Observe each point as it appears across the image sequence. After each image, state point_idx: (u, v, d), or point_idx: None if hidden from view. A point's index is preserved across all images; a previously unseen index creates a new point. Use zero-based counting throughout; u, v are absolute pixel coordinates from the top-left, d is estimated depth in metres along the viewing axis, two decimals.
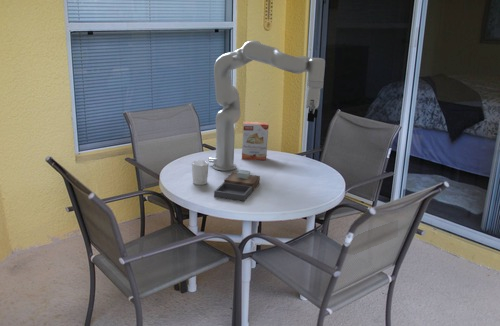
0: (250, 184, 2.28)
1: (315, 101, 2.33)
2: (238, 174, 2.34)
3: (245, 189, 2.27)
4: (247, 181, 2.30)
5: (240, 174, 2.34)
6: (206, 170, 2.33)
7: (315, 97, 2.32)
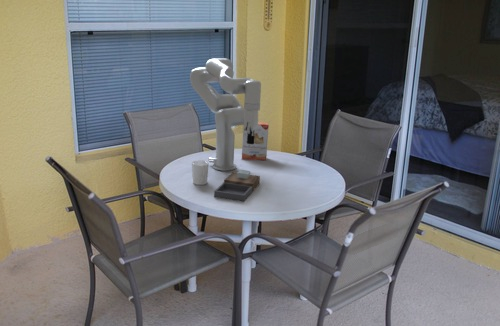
0: (250, 184, 2.28)
1: (251, 123, 2.32)
2: (238, 174, 2.34)
3: (245, 189, 2.27)
4: (247, 181, 2.30)
5: (240, 174, 2.34)
6: (206, 170, 2.33)
7: (251, 119, 2.32)
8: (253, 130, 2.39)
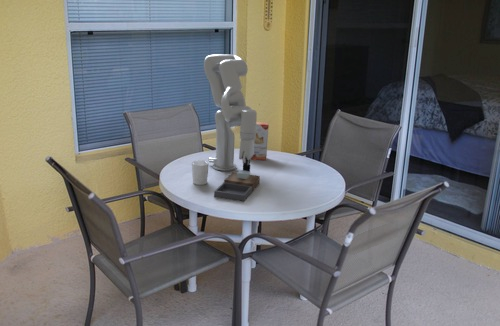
0: (250, 184, 2.28)
1: (247, 153, 2.31)
2: (238, 174, 2.34)
3: (245, 189, 2.27)
4: (247, 181, 2.30)
5: (240, 174, 2.33)
6: (206, 170, 2.33)
7: (247, 148, 2.31)
8: (249, 159, 2.38)
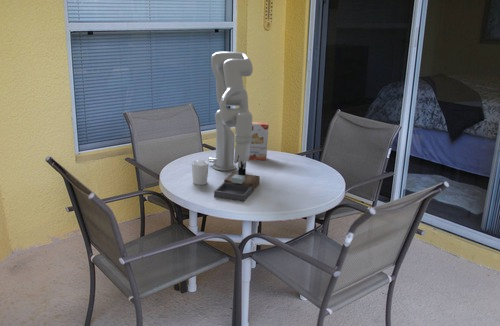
0: (250, 184, 2.28)
1: (242, 157, 2.25)
2: (232, 179, 2.27)
3: (245, 189, 2.27)
4: (247, 181, 2.30)
5: (235, 179, 2.27)
6: (206, 170, 2.33)
7: (243, 152, 2.24)
8: (244, 163, 2.31)
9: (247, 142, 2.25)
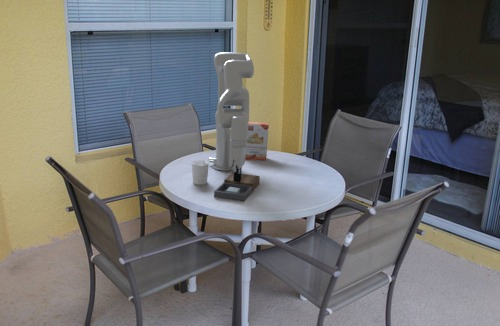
0: (250, 184, 2.28)
1: (238, 161, 2.19)
2: None
3: (245, 189, 2.27)
4: (247, 181, 2.30)
5: None
6: (206, 170, 2.33)
7: (238, 157, 2.19)
8: None
9: (243, 146, 2.19)
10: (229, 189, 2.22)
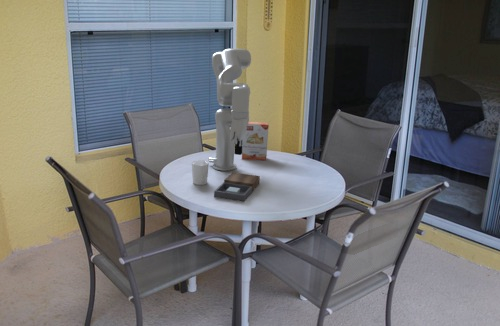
0: (250, 184, 2.28)
1: (239, 133, 2.15)
2: None
3: (245, 189, 2.27)
4: (247, 181, 2.30)
5: None
6: (206, 170, 2.33)
7: (239, 128, 2.15)
8: (241, 140, 2.22)
9: (244, 118, 2.15)
10: (229, 189, 2.22)
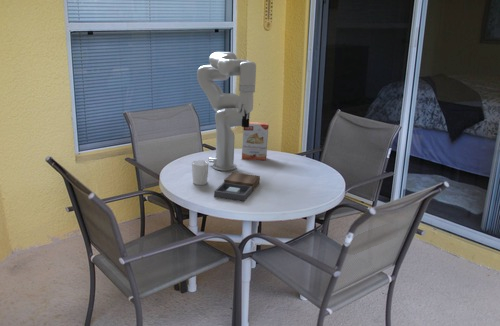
0: (250, 184, 2.28)
1: (246, 106, 2.27)
2: None
3: (245, 189, 2.27)
4: (247, 181, 2.30)
5: None
6: (206, 170, 2.33)
7: (246, 101, 2.27)
8: (248, 113, 2.34)
9: (251, 91, 2.27)
10: (229, 189, 2.22)
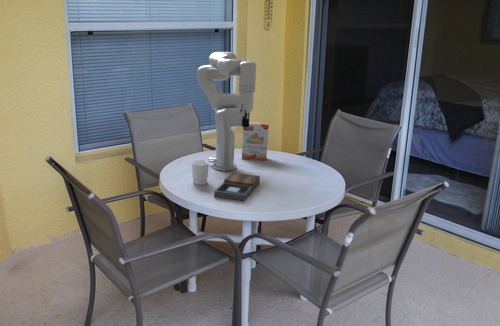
0: (250, 184, 2.28)
1: (246, 106, 2.27)
2: None
3: (245, 189, 2.27)
4: (247, 181, 2.30)
5: None
6: (206, 170, 2.33)
7: (246, 101, 2.27)
8: (248, 113, 2.34)
9: (251, 91, 2.27)
10: (229, 189, 2.22)
